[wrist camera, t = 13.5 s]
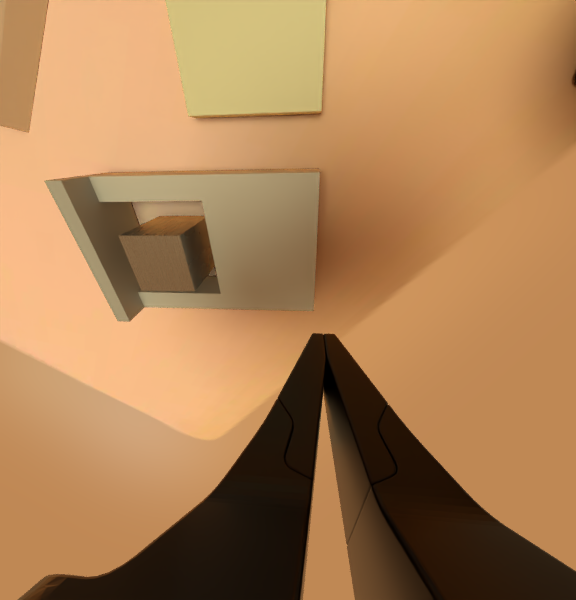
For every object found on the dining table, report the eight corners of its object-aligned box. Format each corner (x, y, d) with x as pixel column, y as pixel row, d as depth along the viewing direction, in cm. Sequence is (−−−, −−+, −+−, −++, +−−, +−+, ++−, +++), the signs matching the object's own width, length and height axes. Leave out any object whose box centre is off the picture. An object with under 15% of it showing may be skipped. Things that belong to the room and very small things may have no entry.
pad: (330, -118, 10) (332, -146, 9) (320, 113, 15) (321, 111, 14) (155, -99, 11) (140, -124, 10) (196, 118, 15) (188, 116, 14)
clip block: (179, 235, 15) (118, 235, 15) (194, 291, 17) (141, 290, 17) (208, 215, 19) (160, 216, 19) (217, 262, 21) (174, 262, 21)
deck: (318, 168, 16) (321, 175, 12) (313, 292, 22) (314, 326, 18) (107, 172, 17) (44, 180, 13) (152, 289, 23) (117, 321, 19)
